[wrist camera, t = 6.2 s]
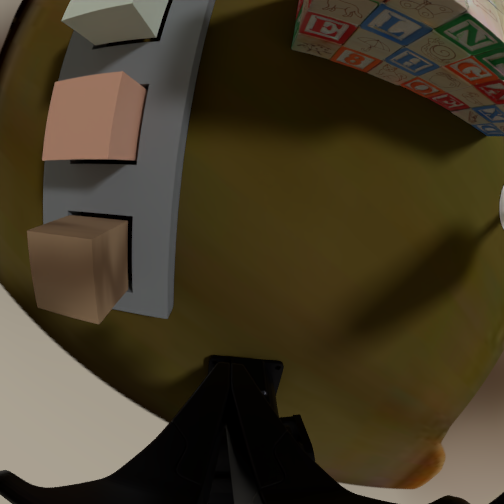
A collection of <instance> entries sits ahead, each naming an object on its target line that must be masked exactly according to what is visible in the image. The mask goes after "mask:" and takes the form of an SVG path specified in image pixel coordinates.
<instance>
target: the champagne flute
mask: <svg viewBox="0 0 504 504" xmlns="http://www.w3.org/2000/svg"><path fill="white" fill-rule="evenodd" d="M499 209H500V220H501V224H502V227H503V229H504V186H503V189H502V192H501V197H500V208H499Z"/></svg>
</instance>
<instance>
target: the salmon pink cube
mask: <svg viewBox="0 0 504 504" xmlns="http://www.w3.org/2000/svg"><path fill="white" fill-rule="evenodd" d="M147 93H148V90H146V89H145V88H144V87H143V86H141V85H140V84H139V83H138V82H136V81H135V80H134V79H132V78H131V77H130V76H129V75H127V74H126V73H125V72H123V71H120V72H111V73H102V74H95V75H89V76H83V77H77V78H72V79H67V80H62V81H57V82H55V85H54V89H53V93H52V98H51V102H50V107H49V113H48V118H47V125H46V131H45V139H44V147H43V157H42V161H45V160H133V161H137V157H138V149H139V141H140V134H141V127H142V121H143V115H144V109H145V103H146V98H147Z"/></svg>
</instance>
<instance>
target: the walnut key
mask: <svg viewBox="0 0 504 504" xmlns="http://www.w3.org/2000/svg"><path fill="white" fill-rule="evenodd" d="M27 236H28V248H29V258H30V266H31V273H32V280H33V286H34V292H35V297H36V302H37V307H38V308H41V309H44V310H48V311H51V312H54V313H58V314H61V315H65V316H68V317H72V318H76V319H79V320H83V321H87V322H91V323H95V324H100V323H101V321H102V320H103V319H104V318H105V317H106V315H107V314H108V313H109V312H110V310H111V309H112V308H113V307H114V306H115V304H116V303H117V302H118V301H119V300H120V298H121V297H122V296H123V295H124V294H125V293H126V291H127V290H128V221H126V220H116V219H106V218H96V217H86V216H75V215H69V216H66V217H63V218H60V219H57V220H54V221H52V222H49V223H46V224H43V225H41V226H38V227H36V228H33V229H30V230H28V231H27Z"/></svg>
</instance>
